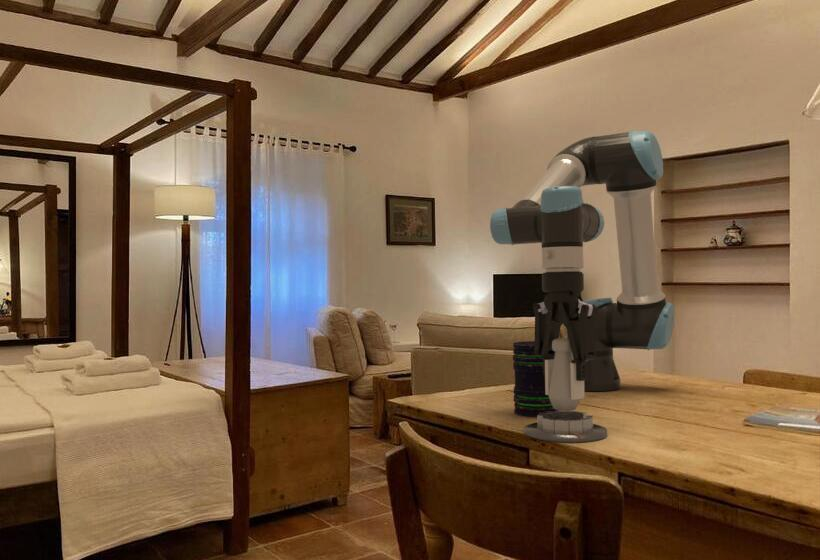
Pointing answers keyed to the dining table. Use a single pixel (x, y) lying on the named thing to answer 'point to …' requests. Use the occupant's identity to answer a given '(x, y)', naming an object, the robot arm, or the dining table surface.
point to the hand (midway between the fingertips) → (564, 396)
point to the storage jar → (529, 381)
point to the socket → (565, 427)
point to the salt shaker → (562, 377)
